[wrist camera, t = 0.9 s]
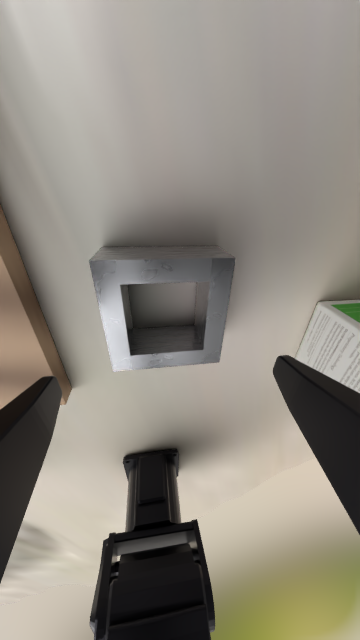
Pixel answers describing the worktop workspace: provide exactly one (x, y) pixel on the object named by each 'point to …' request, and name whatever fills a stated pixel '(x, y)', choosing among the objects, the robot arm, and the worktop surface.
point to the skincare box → (334, 342)
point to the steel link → (163, 267)
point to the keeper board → (23, 328)
